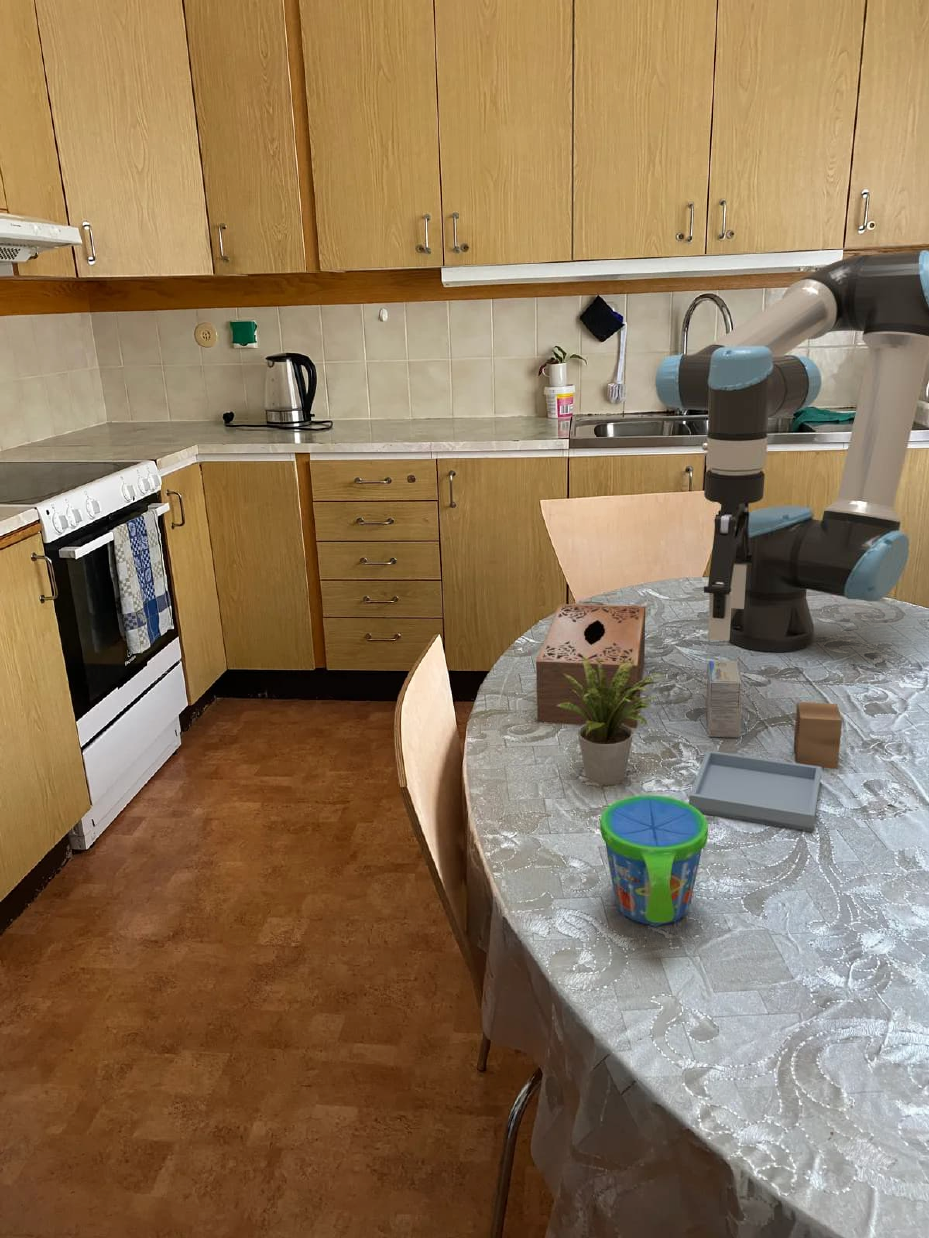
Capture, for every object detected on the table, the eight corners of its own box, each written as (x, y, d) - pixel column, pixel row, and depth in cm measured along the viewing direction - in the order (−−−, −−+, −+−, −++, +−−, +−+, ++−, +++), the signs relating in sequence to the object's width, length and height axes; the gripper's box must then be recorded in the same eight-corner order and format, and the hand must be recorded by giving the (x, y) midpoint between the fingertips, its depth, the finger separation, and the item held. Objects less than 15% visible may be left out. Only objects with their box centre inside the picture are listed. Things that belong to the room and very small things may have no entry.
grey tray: (706, 765, 124) (707, 750, 124) (820, 782, 119) (821, 766, 118) (688, 811, 114) (689, 795, 113) (812, 832, 108) (814, 815, 108)
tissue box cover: (559, 658, 163) (558, 604, 159) (644, 662, 159) (645, 606, 156) (537, 723, 139) (536, 661, 136) (636, 729, 136) (637, 665, 132)
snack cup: (605, 858, 105) (606, 778, 102) (702, 866, 103) (705, 784, 100) (594, 950, 91) (594, 860, 88) (706, 961, 89) (710, 870, 85)
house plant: (651, 816, 113) (654, 692, 108) (541, 799, 118) (538, 680, 112) (669, 761, 126) (673, 647, 120) (569, 748, 130) (568, 639, 125)
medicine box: (740, 739, 131) (743, 682, 128) (707, 737, 132) (709, 681, 129) (736, 714, 138) (739, 660, 135) (705, 713, 139) (707, 659, 136)
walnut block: (793, 748, 128) (797, 701, 125) (832, 751, 126) (836, 703, 124) (796, 766, 123) (800, 718, 121) (837, 769, 122) (842, 720, 120)
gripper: (720, 453, 135) (714, 593, 142) (687, 487, 113) (681, 651, 120) (775, 454, 132) (765, 598, 139) (751, 489, 110) (741, 657, 117)
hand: (726, 623), depth 130 cm, fingers open, 13 cm apart
